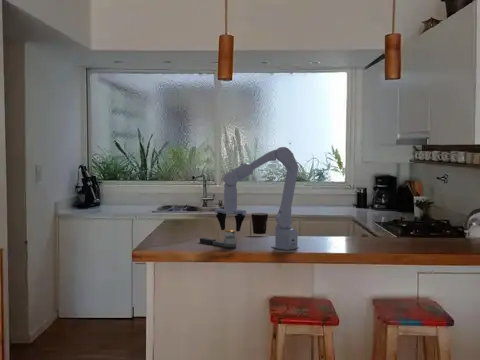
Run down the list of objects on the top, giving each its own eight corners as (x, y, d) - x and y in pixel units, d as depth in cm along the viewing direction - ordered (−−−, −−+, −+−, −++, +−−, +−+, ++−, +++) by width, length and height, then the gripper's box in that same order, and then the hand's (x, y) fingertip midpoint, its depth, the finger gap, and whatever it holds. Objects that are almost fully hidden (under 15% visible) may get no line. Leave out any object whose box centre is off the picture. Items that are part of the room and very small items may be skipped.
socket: (236, 243, 238) (236, 231, 238) (226, 244, 237) (226, 231, 237) (234, 241, 243) (234, 229, 243) (223, 242, 242) (223, 230, 242)
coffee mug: (261, 235, 276) (261, 215, 275) (247, 233, 281) (247, 213, 280) (274, 232, 285) (274, 213, 284) (260, 230, 290) (260, 211, 290)
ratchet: (238, 247, 240) (238, 238, 240) (230, 249, 236) (230, 239, 236) (206, 241, 255) (206, 232, 255) (197, 242, 252) (197, 233, 252)
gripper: (249, 199, 239) (249, 230, 240) (220, 198, 246) (220, 228, 247) (241, 201, 233) (241, 232, 234) (212, 199, 240) (212, 230, 240)
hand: (230, 230), depth 240 cm, fingers open, 7 cm apart
